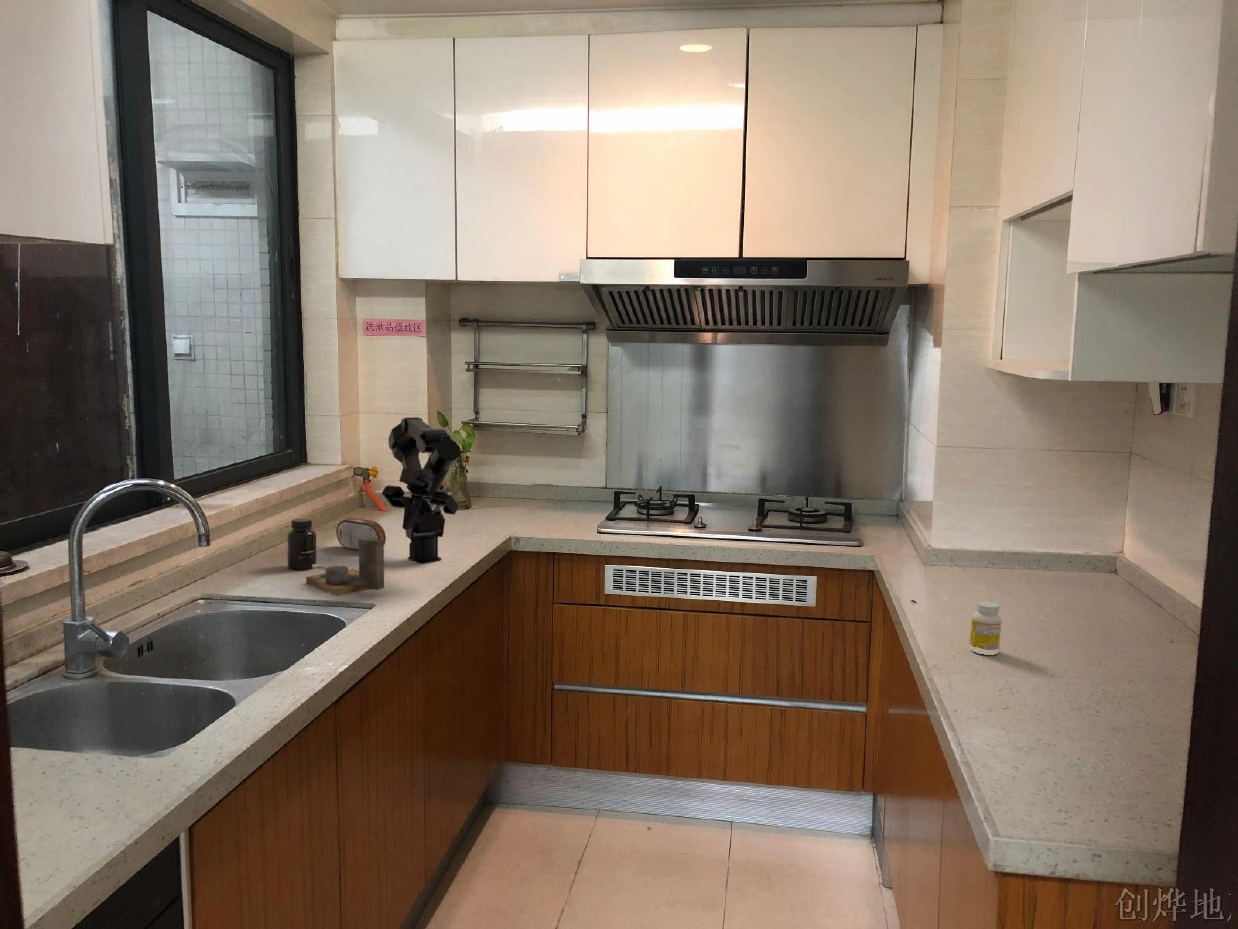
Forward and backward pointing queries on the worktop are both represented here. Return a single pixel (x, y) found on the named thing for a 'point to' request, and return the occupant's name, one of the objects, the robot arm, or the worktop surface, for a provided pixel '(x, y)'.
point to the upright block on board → (361, 566)
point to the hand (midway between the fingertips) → (404, 528)
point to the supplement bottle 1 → (301, 545)
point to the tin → (358, 532)
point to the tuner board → (335, 589)
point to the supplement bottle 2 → (986, 626)
